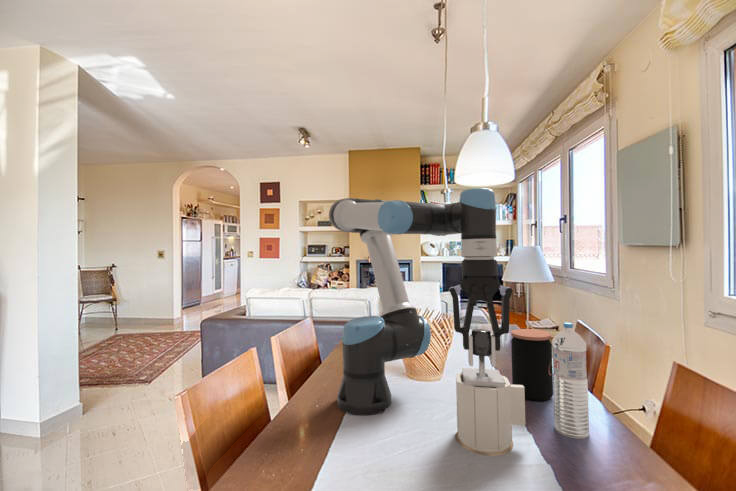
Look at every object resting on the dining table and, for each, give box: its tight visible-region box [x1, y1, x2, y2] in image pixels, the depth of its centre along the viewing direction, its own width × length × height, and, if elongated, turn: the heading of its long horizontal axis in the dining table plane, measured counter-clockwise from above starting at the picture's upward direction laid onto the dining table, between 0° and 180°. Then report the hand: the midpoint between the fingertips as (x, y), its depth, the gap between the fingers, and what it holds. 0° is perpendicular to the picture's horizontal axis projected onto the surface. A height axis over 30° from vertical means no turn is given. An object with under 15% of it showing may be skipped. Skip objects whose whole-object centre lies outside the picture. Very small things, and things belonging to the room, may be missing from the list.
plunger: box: [471, 328, 492, 387], centre depth 75 cm, size 8×8×22 cm
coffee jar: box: [510, 328, 554, 403], centre depth 99 cm, size 11×11×18 cm
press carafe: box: [455, 367, 526, 454], centre depth 75 cm, size 14×11×14 cm
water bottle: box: [551, 322, 590, 440], centre depth 78 cm, size 7×7×25 cm
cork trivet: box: [455, 430, 514, 456], centre depth 75 cm, size 12×12×1 cm
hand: (481, 364), depth 75 cm, fingers closed on plunger, 4 cm apart
